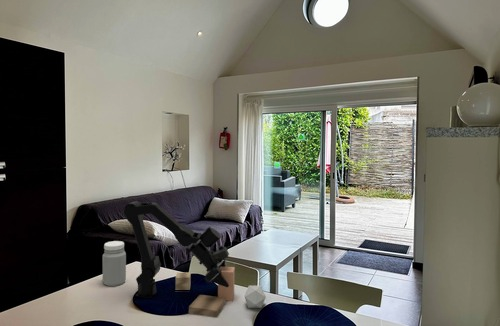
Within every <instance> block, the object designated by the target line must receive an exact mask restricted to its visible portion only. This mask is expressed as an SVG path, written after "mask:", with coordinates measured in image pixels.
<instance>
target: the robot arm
mask: <svg viewBox="0 0 500 326" xmlns="http://www.w3.org/2000/svg"><path fill="white" fill-rule="evenodd" d="M123 214H124V216H125V218H126V220H127V222H128V223H129V224H130V225H131V227H132V230H133V233H134V236H135V240H136V243H137V247H138V250H139V254H140V257H141V258H140V259H141V261H140V262H141V263H140V269H141V273H140V274H138V276H137V277H136V278H135V281H136V283H137V293H136V294H135V297H137V296H138V297H137V298H146V299H150V298H152V297H153V296H155V294H156V293H157V292H158V290H157V283H156V278H155V277H156V276H157V275H158V273H159V272H160V270H161V265H162V263H161V261H160V257H159V255H156V256H155V254H154V253H153V251H152V248H151V247H152V246H151V244H150V240H149V236H148V233H147V231H146V227H145V224H144V223H145V222H144V217H145V216H144V215H147V214H148V215H150V214H151V215H152V216H153V217H155V218H156V220H157V221H159V222H160V223H161V224H162V225H164V226H165V227H166V228H167V229H168V230H169V231H170V232H171V233H172V234H173V236H174V238H175V239H176V241H177V242H178V244H180V245H181V246H182V247H186V248H185V250H186V251H185V255H186V256H188V255H189V254H190V253H191V254H192V255H193V256H194V257H195V258H196V260H198V261H199V262H198V264H199V265H200V266H201V265H202V266H204V267H205V269H206V273H205V276H204V280H205V281H206V282H207V283H213V284H217V285H218V284H219V285H222V286H224V287H229V284H228V283H227V281H226V280H225V279H224V277H223V276H222V270H220V267H227V264H226V261H227V260H226V259H227V258H228V257H229V256H230V253H229V251H228V248H227V247H226V246H225V245H223V244H222V245H219V246H218V250H216V251H214V250H209V248H212V247H213V246H214V245H215V244H217V242H218V241H220V239H222V236H221V234H220V232H218V231H217V230H216V229H215V228H212V227H211V226H208V227H207V228H206V229H205V231H203V232H202V233H200V232H195V231H194V230H193V229H191V228H189V227H187V226H185V225H183V224H181V223H180V222H178V221H177V220H176V219H175V218H174V217H173V216H171V214H170V213H168V212H167V211H166V210H165V209H164V208H162V206H160V204H159V203H157V202H140V201H137V200H135V201H132V202H129V203H127V204H126V205H125V206H124V208H123Z"/></svg>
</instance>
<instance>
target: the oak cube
mask: <svg viewBox="0 0 500 326" xmlns="http://www.w3.org/2000/svg"><path fill="white" fill-rule="evenodd" d="M190 289H191V271H188V272H187V271H186V272H185V271H184V272H183V271H182V272H176V275H175V290H190Z"/></svg>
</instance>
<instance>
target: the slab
mask: <svg viewBox="0 0 500 326" xmlns="http://www.w3.org/2000/svg"><path fill="white" fill-rule="evenodd" d="M226 305H227V301H226V298H222V297H218V296H212V295H205V294H199V295H198V296H197V298H195V299H194V301H192V303H191V304H189V306H188V314H189V315H196V316H203V317H204V316H205V317H211V318H218V317H219V315H220V314H221V312H222V310H223V309H224V308H225V306H226Z"/></svg>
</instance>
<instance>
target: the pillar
mask: <svg viewBox="0 0 500 326" xmlns="http://www.w3.org/2000/svg"><path fill="white" fill-rule="evenodd" d="M220 270H222V276H223V277H224V279H225V280H226V281H227V283H228V284H229V287H224V286H222V285H219V284H217V297H222V298H226V302H233V301H234V296H235V273H236V270H235V266H226V267H220Z"/></svg>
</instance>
